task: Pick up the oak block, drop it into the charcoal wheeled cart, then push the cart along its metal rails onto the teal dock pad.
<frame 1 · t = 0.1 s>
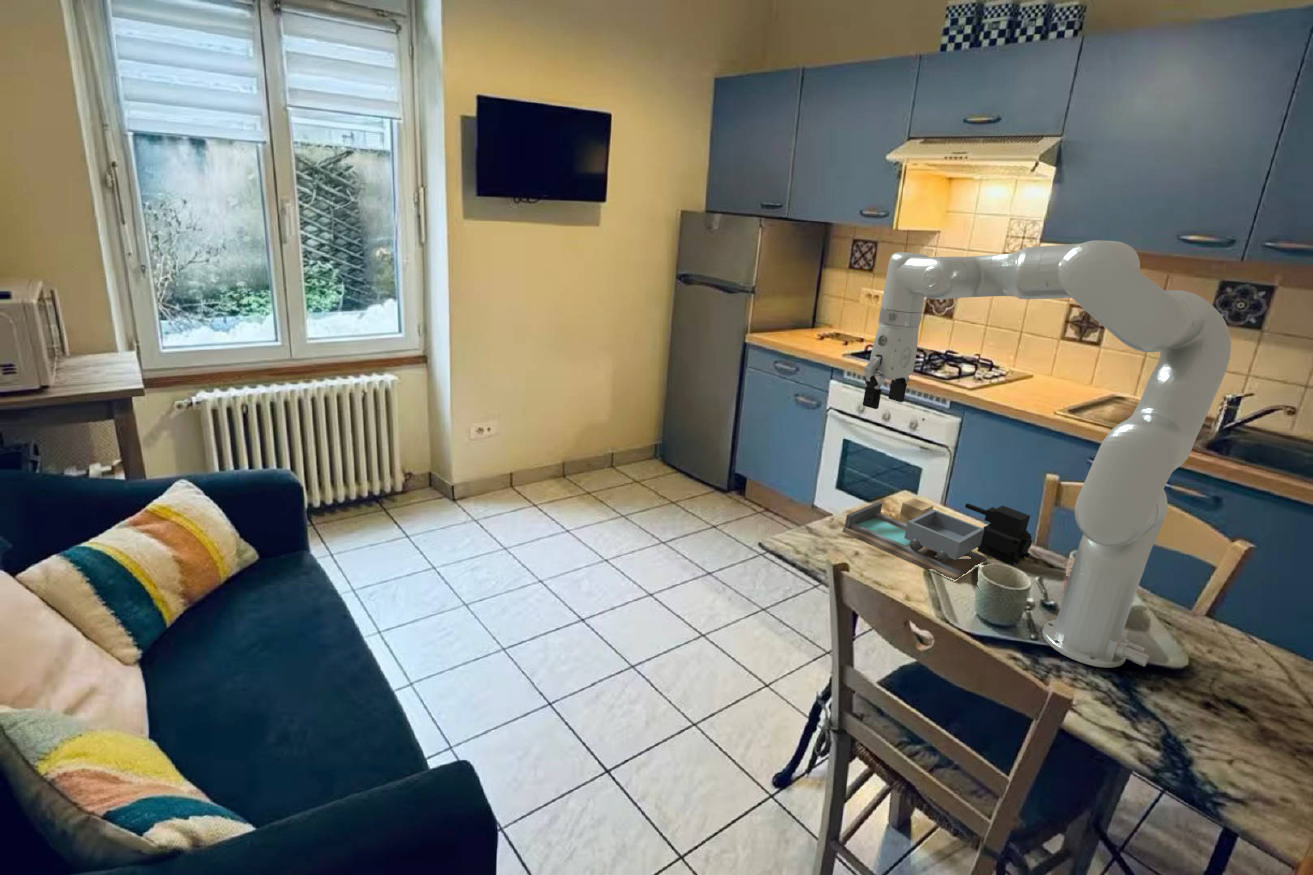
hand: (883, 403, 144), 31 cm above the table, tool pointing down, fingers open, 9 cm apart
cart: (943, 537, 148), point 5 cm above the table, slide at 0.0 cm
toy: (989, 551, 155), on the table
block: (913, 523, 166), on the table
track: (912, 546, 154), on the table
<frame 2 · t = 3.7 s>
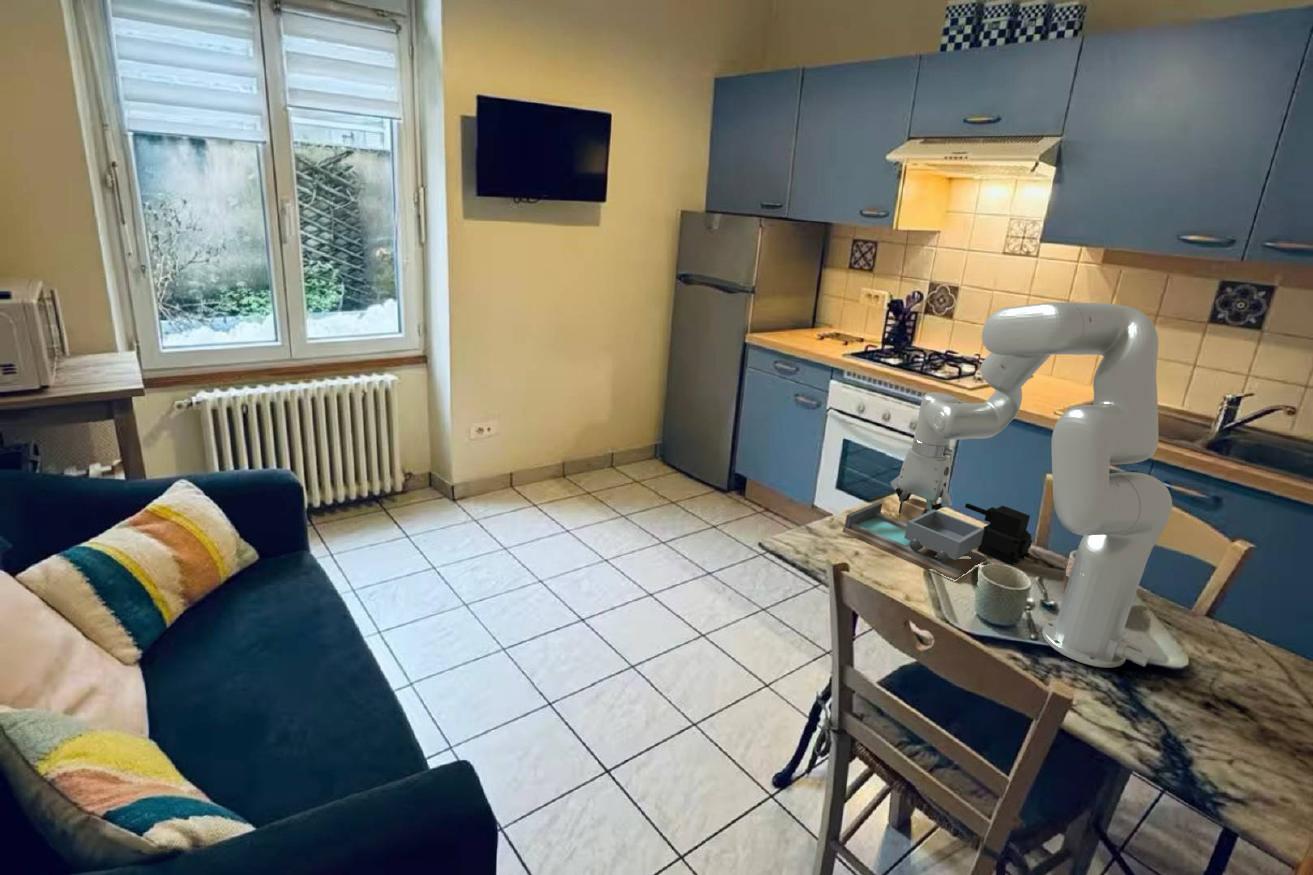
hand: (914, 521, 165), 0 cm above the table, tool pointing down, fingers closed on block, 4 cm apart
block: (913, 523, 166), on the table, touching gripper
everything else where it was.
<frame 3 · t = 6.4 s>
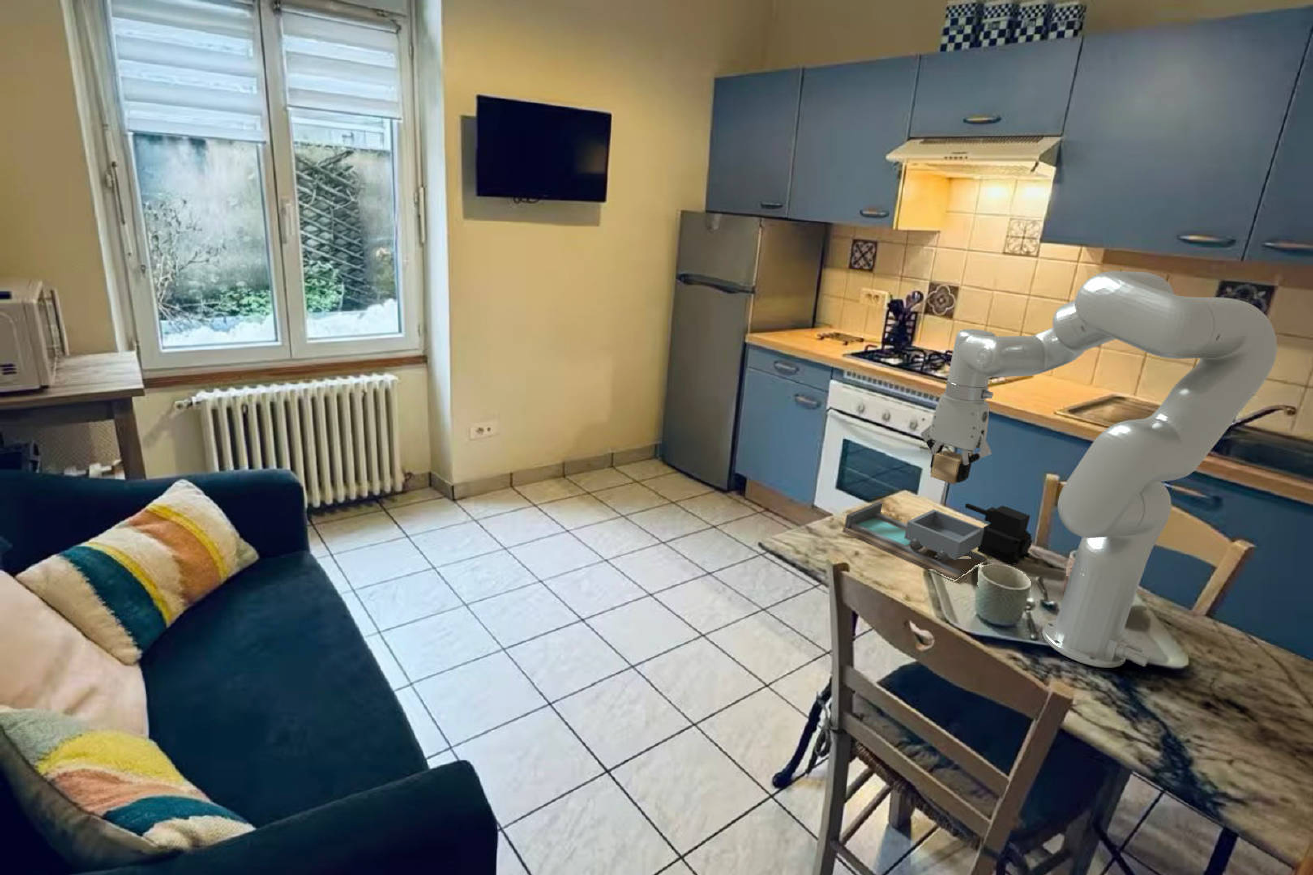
hand: (948, 475, 149), 17 cm above the table, tool pointing down, fingers closed on block, 4 cm apart
block: (947, 478, 149), point 16 cm above the table, touching gripper
everything else where it was.
when the fingers open (8 cm above the table, at t = 9.0 s): block drops 3 cm, resting on cart.
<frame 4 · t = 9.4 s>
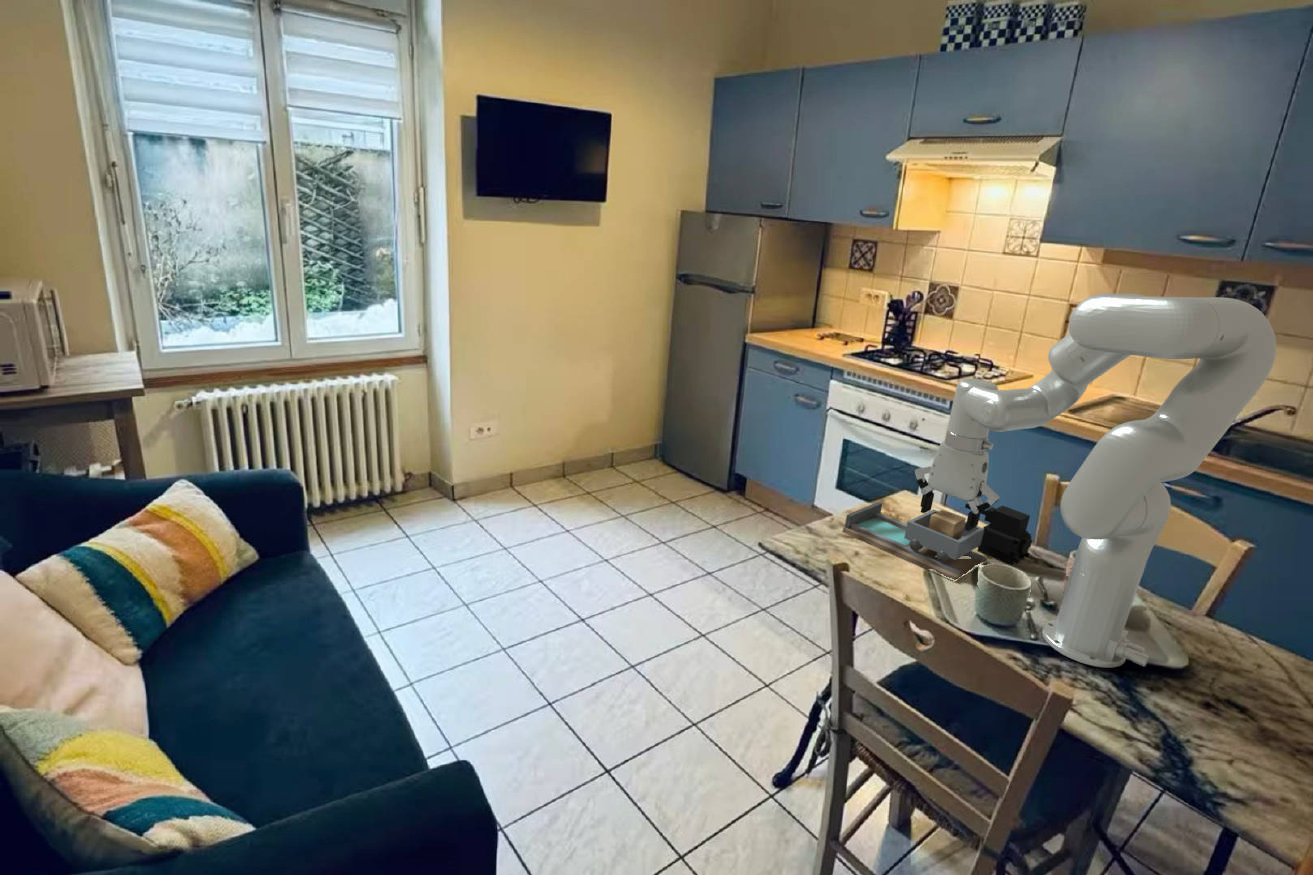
hand: (947, 519, 147), 9 cm above the table, tool pointing down, fingers open, 9 cm apart
cart: (943, 537, 148), point 5 cm above the table, slide at 0.0 cm, touching block
block: (943, 538, 148), point 5 cm above the table, touching cart
everything else where it was.
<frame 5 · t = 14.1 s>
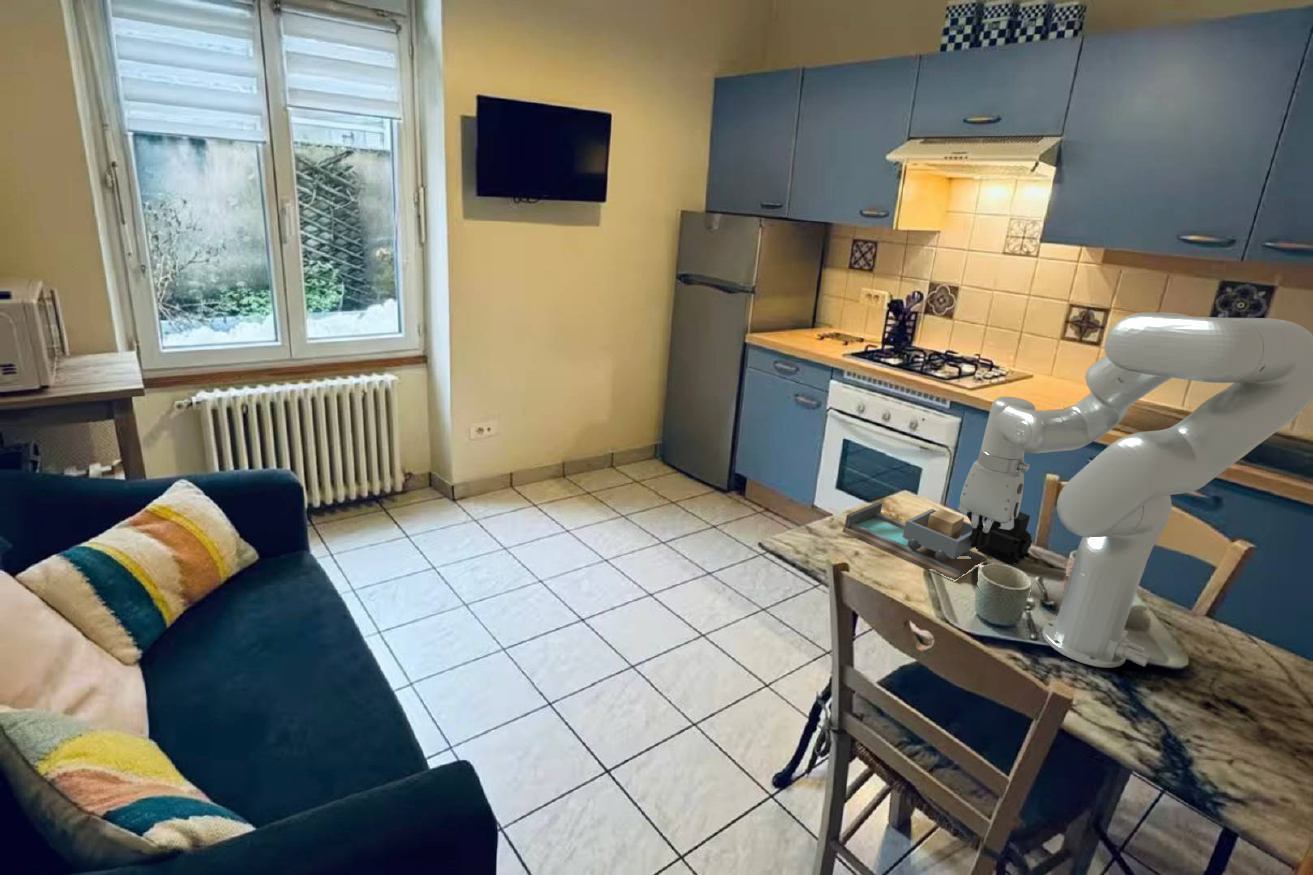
hand: (977, 546, 143), 6 cm above the table, tool pointing down, fingers closed
cart: (941, 536, 149), point 5 cm above the table, slide at 0.4 cm, touching block, gripper
everything else where it was.
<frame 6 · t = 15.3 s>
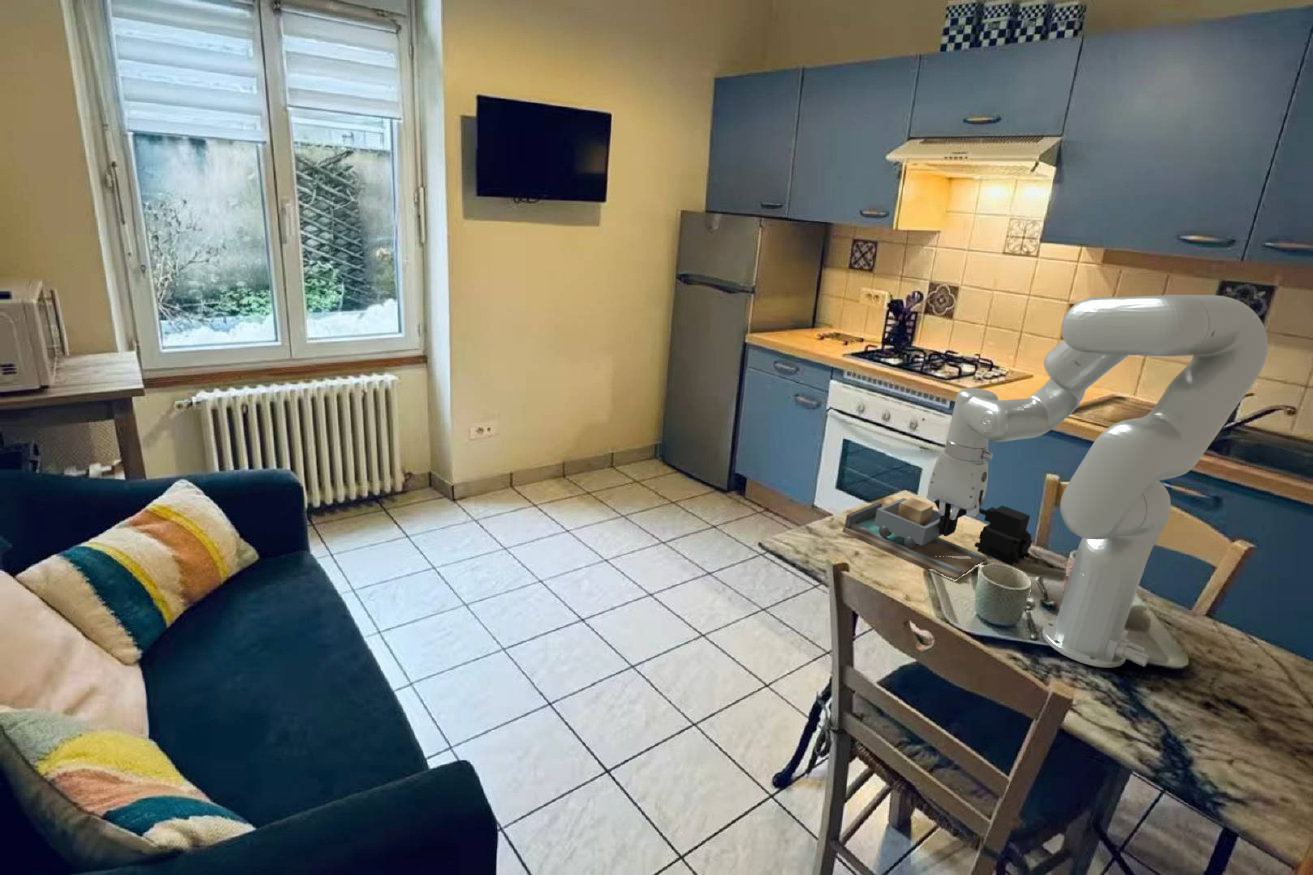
hand: (945, 533, 148), 6 cm above the table, tool pointing down, fingers closed
cart: (911, 524, 153), point 5 cm above the table, slide at 7.2 cm, touching block, gripper
block: (911, 525, 153), point 5 cm above the table, touching cart
everything else where it was.
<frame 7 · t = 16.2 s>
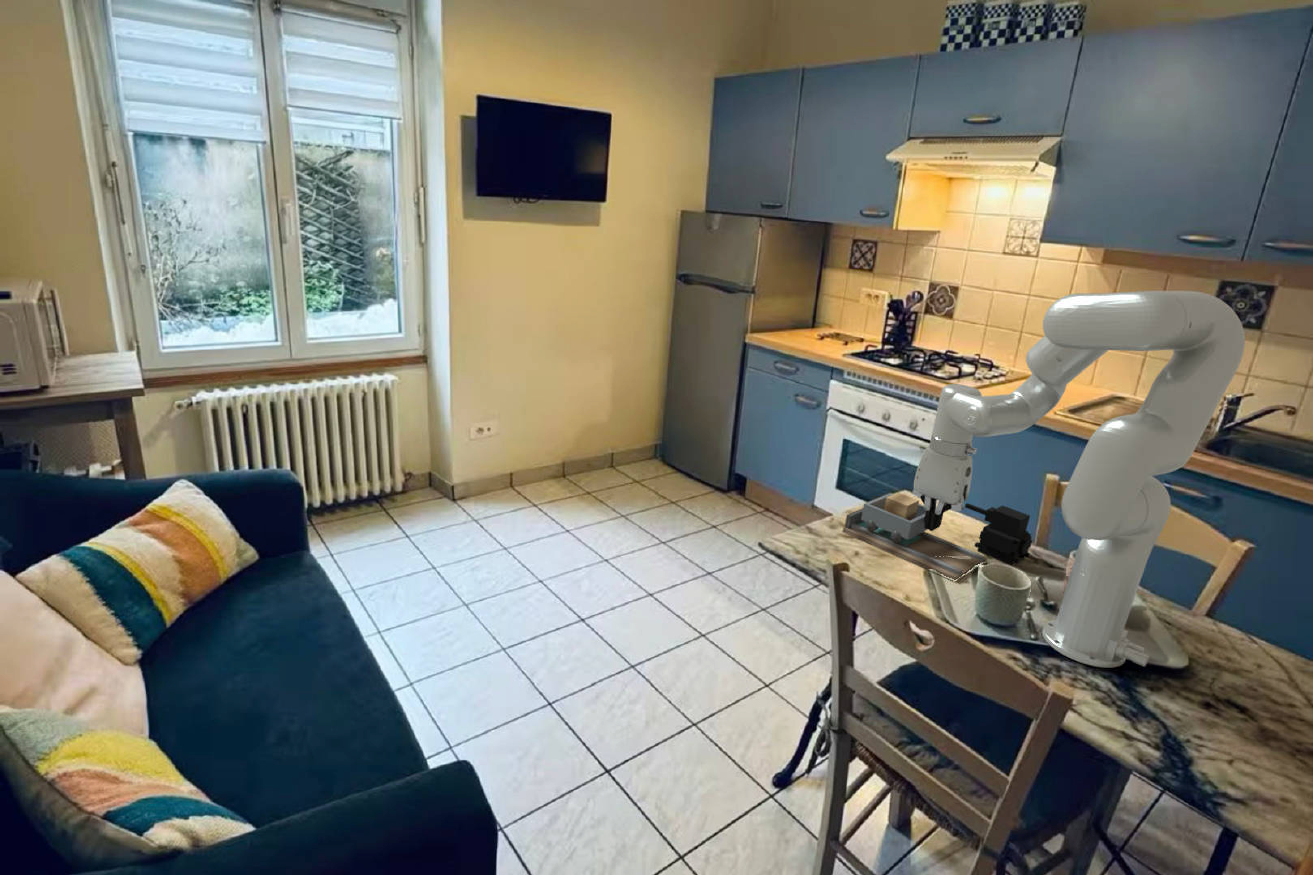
hand: (931, 528, 150), 6 cm above the table, tool pointing down, fingers closed
cart: (898, 518, 155), point 5 cm above the table, slide at 10.4 cm, touching block, gripper
block: (898, 519, 155), point 5 cm above the table, touching cart
everything else where it was.
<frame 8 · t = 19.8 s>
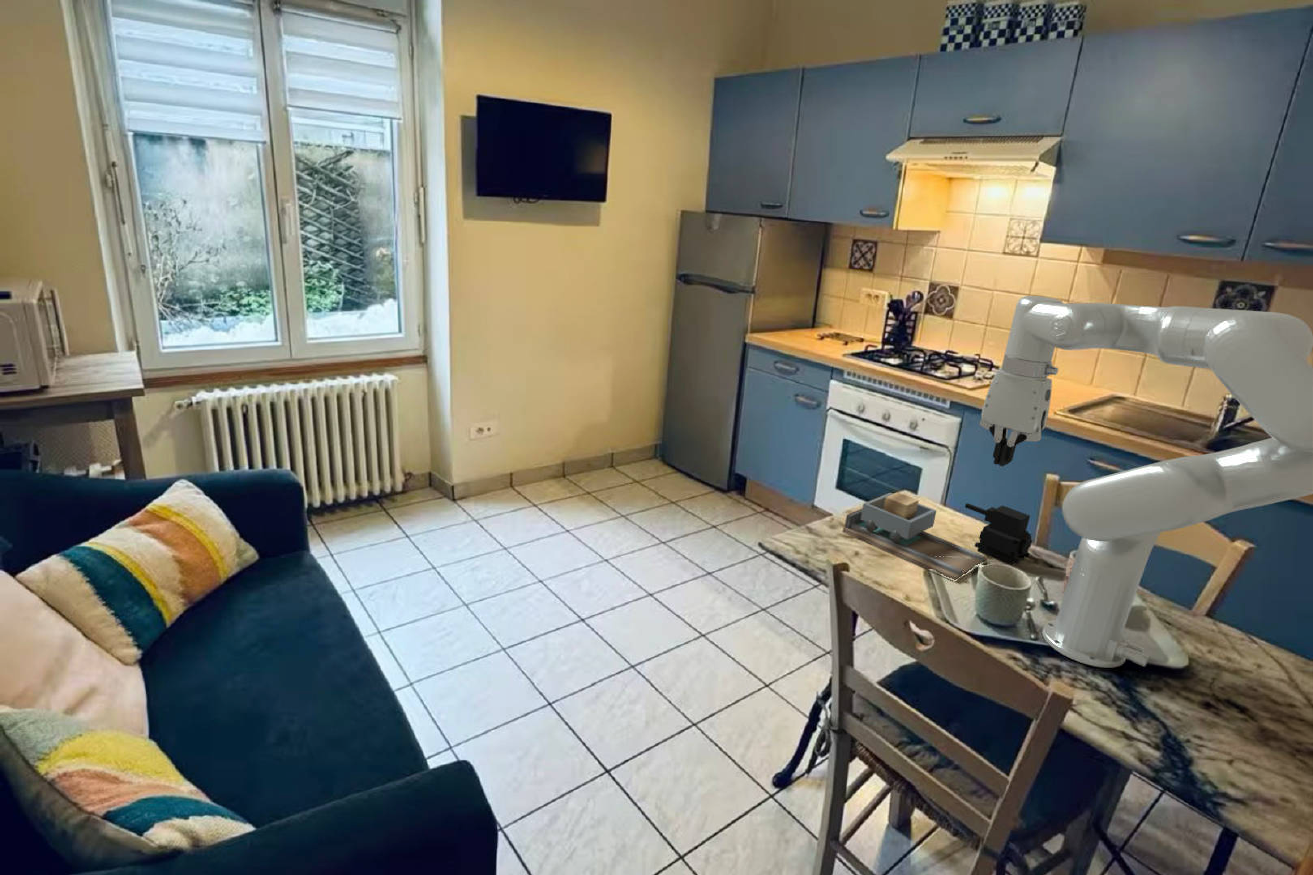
hand: (1001, 463, 133), 25 cm above the table, tool pointing down, fingers closed
cart: (897, 518, 156), point 5 cm above the table, slide at 10.5 cm, touching block
everything else where it was.
at the end: cart slide at 10.5 cm; block inside the target area (0.4 cm from its centre), point 4.6 cm above the table; the gripper is holding nothing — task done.
